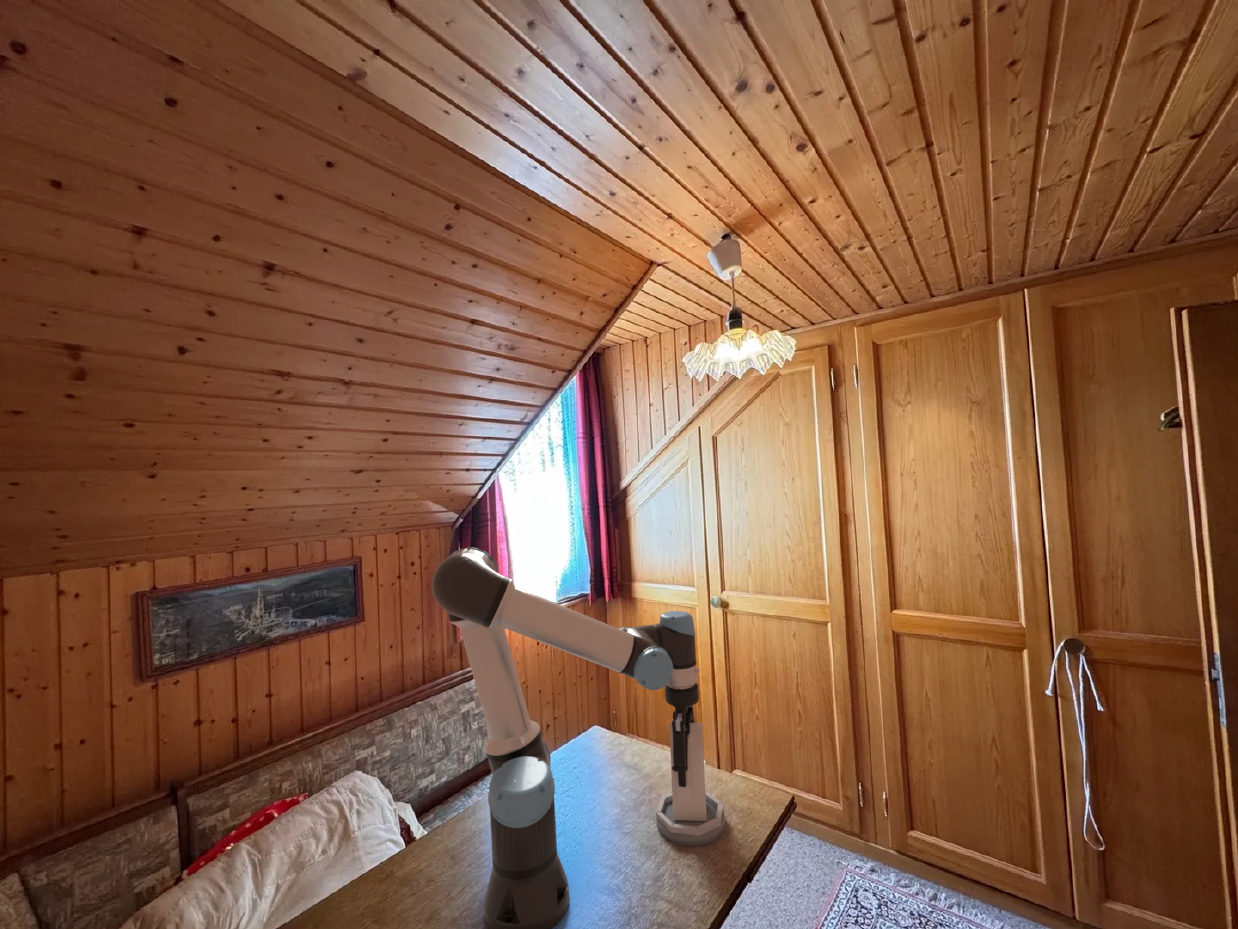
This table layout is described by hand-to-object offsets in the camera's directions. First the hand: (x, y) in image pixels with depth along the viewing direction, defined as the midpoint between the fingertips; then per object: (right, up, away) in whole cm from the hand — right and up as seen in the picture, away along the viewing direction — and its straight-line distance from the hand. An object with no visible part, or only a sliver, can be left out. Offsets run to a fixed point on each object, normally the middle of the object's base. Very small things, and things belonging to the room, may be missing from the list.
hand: (688, 786), depth 113 cm
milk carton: (0, -6, 0) cm, 6 cm away
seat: (+1, -8, 0) cm, 8 cm away
